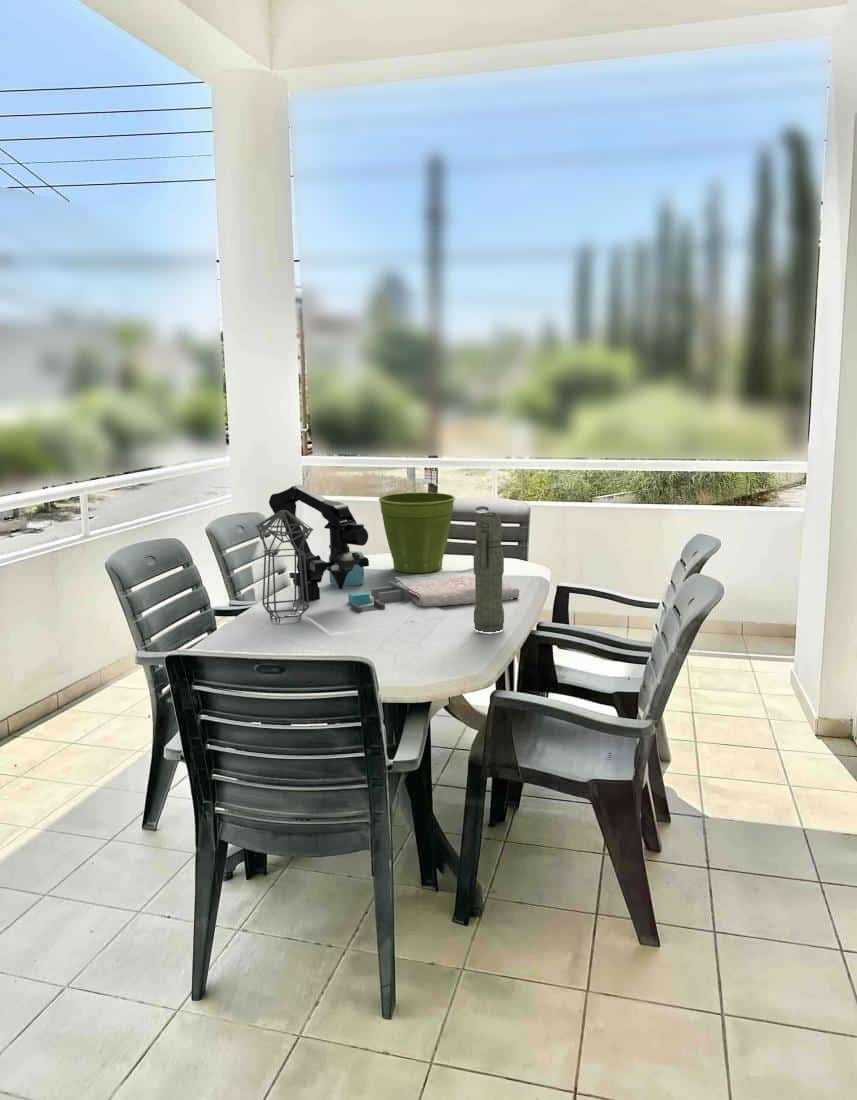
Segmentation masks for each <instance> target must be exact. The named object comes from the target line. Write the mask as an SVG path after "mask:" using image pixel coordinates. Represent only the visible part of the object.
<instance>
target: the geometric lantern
mask: <svg viewBox="0 0 857 1100" xmlns="http://www.w3.org/2000/svg"><path fill="white" fill-rule="evenodd" d="M285 513H286V514H287V515H289V516H290V517H291V518H292V519H293V520H294V521H295V522H296V523H295V524H290V525H289V523H288V521H287V518H286V515H285ZM293 516H294V515H293V514H291V513H290V512H289V511H286V510H280V511H279V512H277V513H276V514H273V515H270V516H269V517H267V518H266V519H264V520H263V521H261V522H259V523H257V524H256V525H255V527H254V528H256V529H257V531H258V533H259V536H260V537H259V539H260V540H262V541H261V542H262V545H263V548H264V551H263V552H264V554H263V555H264V556H263V582H262V583H263V584H262V601H261V602H262V604H261V605H262V606H263V608H264V610H266V612H267V613H268V614H269V619H270V618H272V617H275V618H274V619H275V623H276V622H278V623H279V622H280V623H281V619H283V618H297V617H298V618H299V619H298V621H299V620H301V619H302V617H303V616H302V615H303V614H304V613H305V612H306V611H307V610H309V609H310V601H309V600H308V587H307V574H306V561H305V553H304V552H303V550H304V542H305V539H306V540H308V539H309V536H310V535H311V534H312V532H314V528H312V527H311V526H310V525H308V524H306V523H305V522H304V521H302V520H301V519H300V518H298V517H297V515H296V516H294V517H293ZM283 517H284V522H285V526H284V524H283ZM296 518H297V519H296ZM276 523H277V524H276ZM294 525H296V526H294ZM298 525H300V527H301V529H302V530H301V531H295V532H291V531H292V530H294V529H295V528H296V527H297V526H298ZM290 526H294V527H293V528H292V529H290ZM285 527H286V529H284V530H285V531H283V528H285ZM287 527H288V529H289V532H287ZM269 528H270V529H269ZM273 528H274V529H276V530H272V529H273ZM279 528H280V530H279ZM300 532H303V533H302V534H300V535H298V536H297V537H295V538H293V539H292V534H294V533H300ZM266 534H270V535H272V536H273V540H272V542H271V544H270V546H269V548H268V547H267V544H266V543H267V542H265V535H266ZM288 534H290V535H291V540H290V538H289V537H288ZM303 534H304V537H303V540H302V542H301V545H300V547H299V549H298V548H297V546H296V545H295V543H294V541H293V540H295V539H297V538H298V537H300V536H302V535H303ZM284 537H285V538H286V539H287V540H284ZM276 539H277V540H279V542H280V543H279V544H278V545H277V547H276V549H272V547H273V546H274V542H275V540H276ZM291 541H292V542H293V544H294V546H295V547H294V546H293V544H292V543H291ZM303 541H304V542H303ZM282 543H284V544H285V543H290V545H291V546H292V547H294V548H281V549H279V548H280V546H281V544H282ZM302 544H303V550H302V551H301V550H300V549H301V546H302ZM295 548H296V549H295ZM293 550H294V554H283V555H275V553H276V552H277V551H278V552H279V551H280V552H281V551H293ZM296 551H297V552H298V553H299V555H296ZM300 551H301V552H302V554H300ZM271 552H273V553H272V554H271ZM302 555H303V558H304V571H305V584H306V597H307V601H304V591H303V578H302V565H301V556H302ZM267 556H268V561H267ZM297 556H299V567H300V581H301V595H302V601H300V600H297V586H296V575H297ZM277 557H278V558H279V557H283V558H284V557H294V577H295V585H294V599H290V600H279V601H278V600H277V601H276V576H275V575H276V573H275V572H276V571H275V558H277ZM271 559H272V582H273V601H270V578H271V577H270V574H271V573H270V572H271ZM267 563H268V564H267ZM266 568H267V569H266ZM266 571H267V589H266ZM265 592H267V593H265ZM265 594H267V596H265ZM265 597H266V602H265ZM280 603H282V604H283V603H293V605H292V608H291V609H279V610H277V604H280ZM296 603H299V604H298V606H297V607H296V608H295V604H296ZM271 604H273V607H274V608H273V609H271V607H270V605H271ZM301 605H302V608H300V606H301ZM294 608H295V609H294ZM282 612H283V613H285V612H291V613H290V615H296V614H298V615H296V616H287V615H283V616H284V617H280V616H279V615H278V613H282ZM293 612H294V614H293ZM274 613H275V614H276V615H275V614H274ZM301 621H302V620H301Z"/></svg>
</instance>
